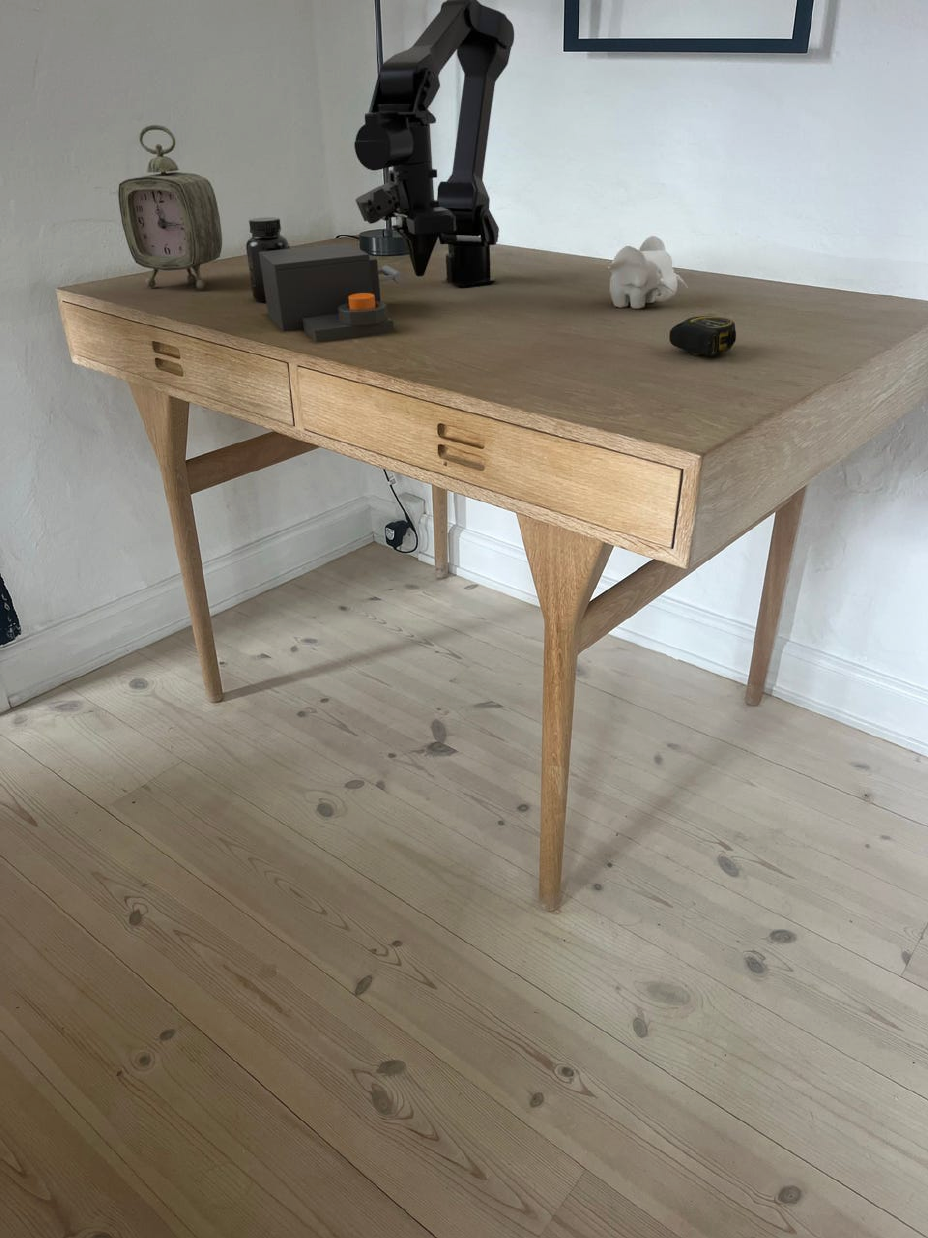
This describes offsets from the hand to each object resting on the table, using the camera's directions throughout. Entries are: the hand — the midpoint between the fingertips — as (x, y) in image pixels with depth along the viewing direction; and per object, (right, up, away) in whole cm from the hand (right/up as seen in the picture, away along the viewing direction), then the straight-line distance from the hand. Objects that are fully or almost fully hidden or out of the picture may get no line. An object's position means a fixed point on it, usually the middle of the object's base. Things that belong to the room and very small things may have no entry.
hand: (419, 275), depth 140 cm
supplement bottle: (-24, 0, +10) cm, 26 cm away
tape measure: (+36, -20, -27) cm, 49 cm away
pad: (-10, -12, -10) cm, 18 cm away
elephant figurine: (+33, -6, -4) cm, 34 cm away
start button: (-7, -9, -13) cm, 17 cm away
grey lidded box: (-15, -7, -3) cm, 17 cm away
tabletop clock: (-42, +6, +22) cm, 48 cm away
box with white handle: (-11, -6, -2) cm, 13 cm away
